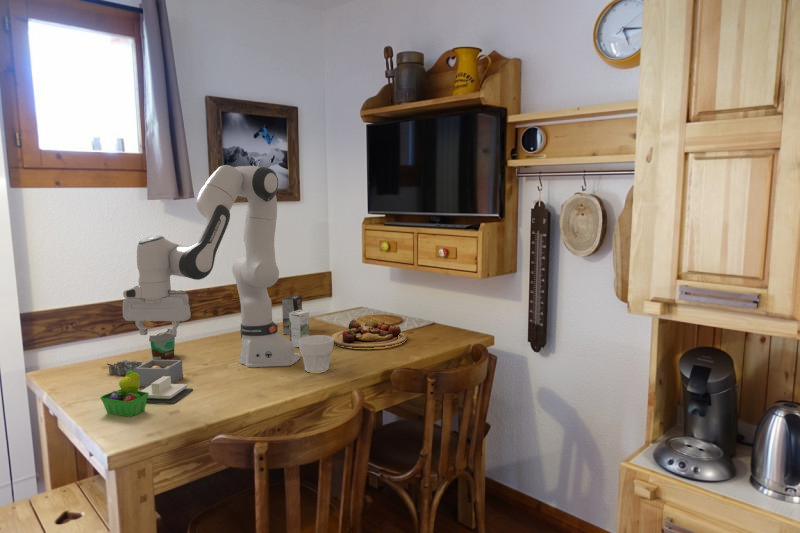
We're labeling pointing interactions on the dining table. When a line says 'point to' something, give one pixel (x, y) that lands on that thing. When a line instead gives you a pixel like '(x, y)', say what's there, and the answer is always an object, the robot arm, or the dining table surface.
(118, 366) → the egg carton
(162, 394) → the lid
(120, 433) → the dining table surface
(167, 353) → the food container
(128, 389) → the fruit basket
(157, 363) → the crate
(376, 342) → the wooden plate with food
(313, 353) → the cup
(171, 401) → the mat
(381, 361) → the dining table surface
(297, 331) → the syrup box
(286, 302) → the coffee box
